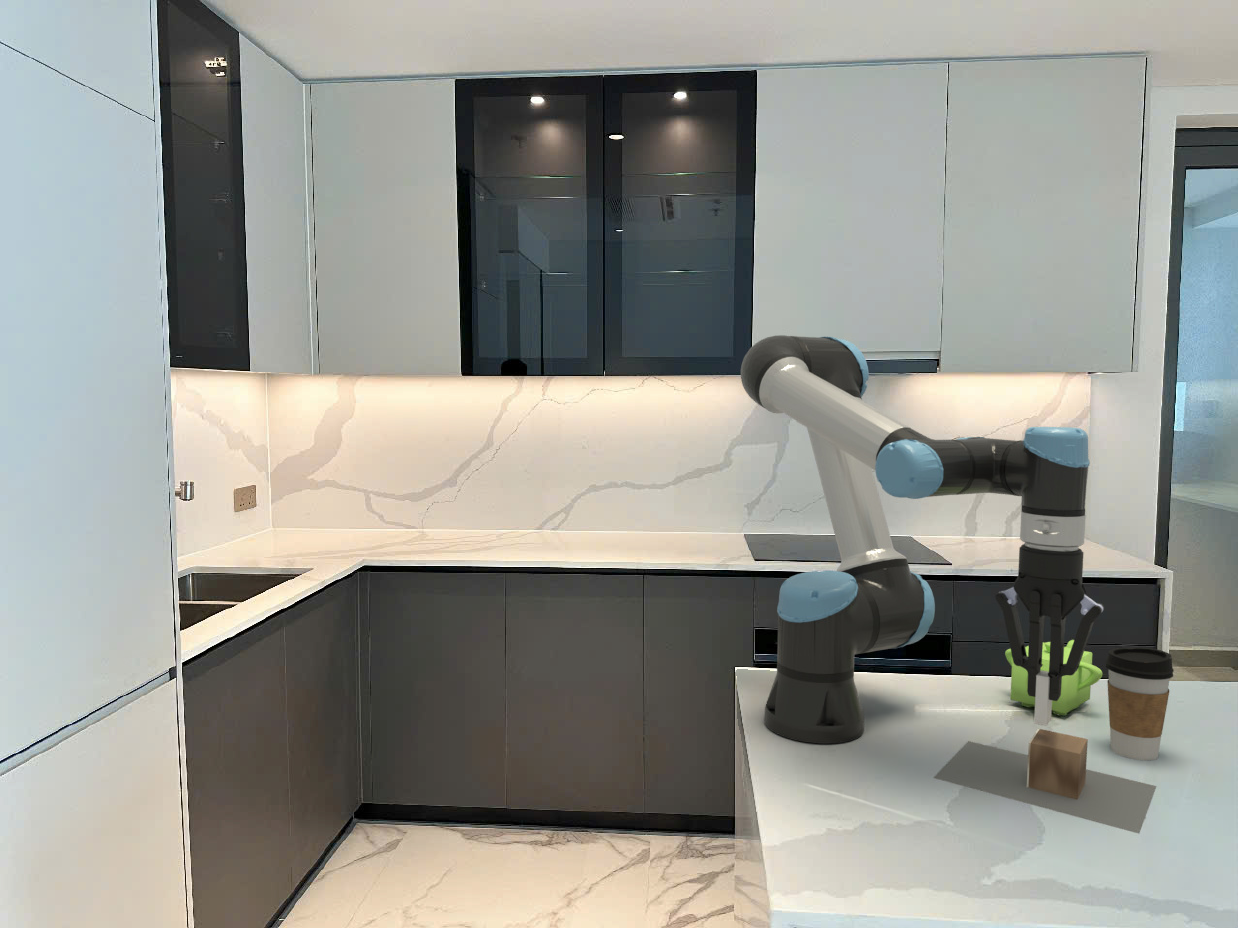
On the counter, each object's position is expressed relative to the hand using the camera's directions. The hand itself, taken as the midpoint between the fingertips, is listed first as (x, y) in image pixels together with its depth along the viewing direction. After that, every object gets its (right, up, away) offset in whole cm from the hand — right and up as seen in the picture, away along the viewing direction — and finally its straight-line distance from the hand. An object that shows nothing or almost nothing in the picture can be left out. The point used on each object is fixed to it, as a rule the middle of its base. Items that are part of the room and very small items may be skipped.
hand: (1042, 721), depth 117 cm
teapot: (+16, -6, +30) cm, 35 cm away
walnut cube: (-1, -5, +1) cm, 5 cm away
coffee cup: (+18, -8, +11) cm, 23 cm away
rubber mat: (0, -8, 0) cm, 8 cm away
